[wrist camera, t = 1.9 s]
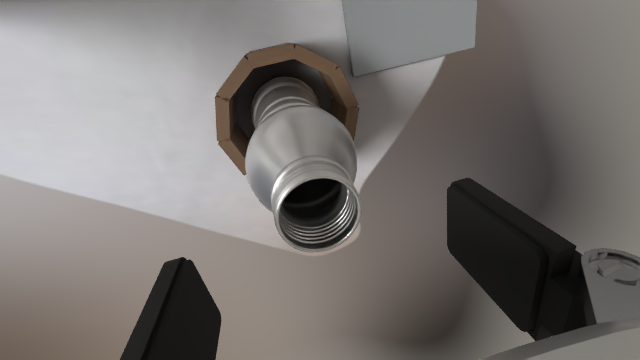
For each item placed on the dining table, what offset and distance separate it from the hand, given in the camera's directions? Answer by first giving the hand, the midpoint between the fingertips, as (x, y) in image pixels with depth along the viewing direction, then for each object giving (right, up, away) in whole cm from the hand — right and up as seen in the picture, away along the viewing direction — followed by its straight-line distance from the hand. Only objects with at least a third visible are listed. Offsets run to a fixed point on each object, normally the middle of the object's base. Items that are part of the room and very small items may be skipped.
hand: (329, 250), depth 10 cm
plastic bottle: (-4, +10, +19) cm, 22 cm away
